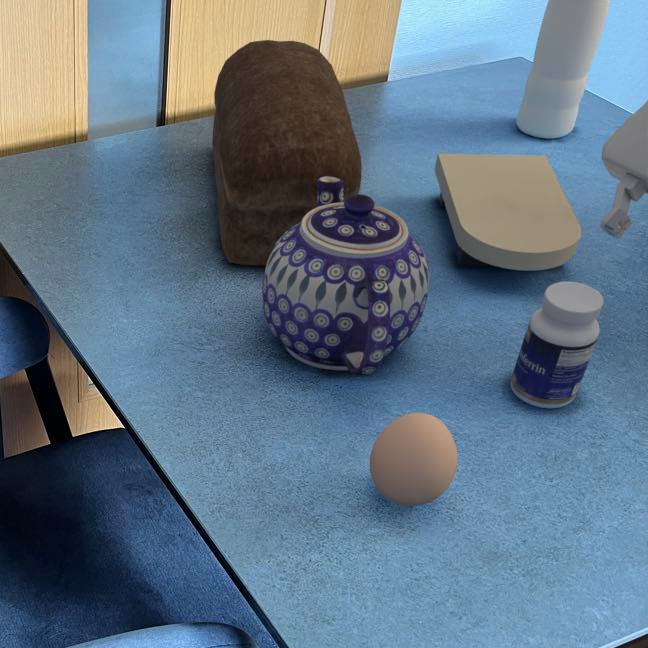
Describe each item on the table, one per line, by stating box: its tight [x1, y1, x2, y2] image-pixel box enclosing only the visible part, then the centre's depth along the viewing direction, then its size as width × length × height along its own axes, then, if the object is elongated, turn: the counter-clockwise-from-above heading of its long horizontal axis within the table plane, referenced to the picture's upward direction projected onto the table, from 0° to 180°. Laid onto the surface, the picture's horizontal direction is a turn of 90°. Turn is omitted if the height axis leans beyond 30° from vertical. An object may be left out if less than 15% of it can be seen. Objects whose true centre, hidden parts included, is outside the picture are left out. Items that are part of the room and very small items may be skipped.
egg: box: [369, 412, 459, 507], centre depth 81 cm, size 7×7×8 cm
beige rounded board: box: [434, 153, 582, 272], centre depth 110 cm, size 22×12×5 cm, turn 175°
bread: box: [211, 39, 363, 267], centre depth 114 cm, size 15×32×16 cm, turn 178°
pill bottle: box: [510, 281, 604, 409], centre depth 90 cm, size 6×6×10 cm
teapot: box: [261, 176, 430, 377], centre depth 94 cm, size 25×15×15 cm, turn 179°
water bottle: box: [515, 0, 611, 139], centre depth 124 cm, size 7×7×25 cm
